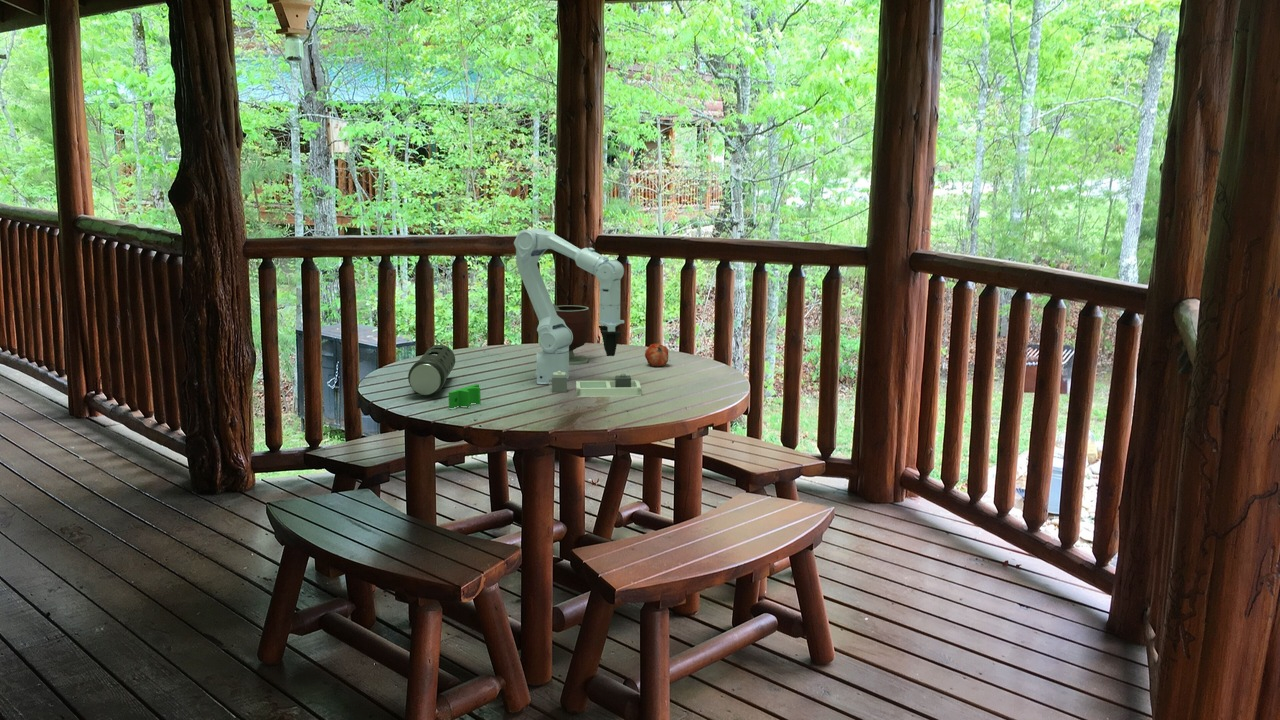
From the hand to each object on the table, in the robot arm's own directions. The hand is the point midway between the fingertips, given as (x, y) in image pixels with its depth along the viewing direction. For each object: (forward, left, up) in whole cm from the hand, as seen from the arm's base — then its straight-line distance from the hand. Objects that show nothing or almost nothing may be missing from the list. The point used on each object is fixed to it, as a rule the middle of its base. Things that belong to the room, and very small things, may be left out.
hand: (609, 353), depth 270 cm
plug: (+3, -11, -9) cm, 14 cm away
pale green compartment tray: (-1, -11, -10) cm, 15 cm away
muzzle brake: (-49, +1, -10) cm, 50 cm away
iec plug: (-14, -9, -10) cm, 19 cm away
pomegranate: (+16, +31, -10) cm, 36 cm away
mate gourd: (-12, +39, -10) cm, 42 cm away
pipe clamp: (-37, -20, -10) cm, 43 cm away
